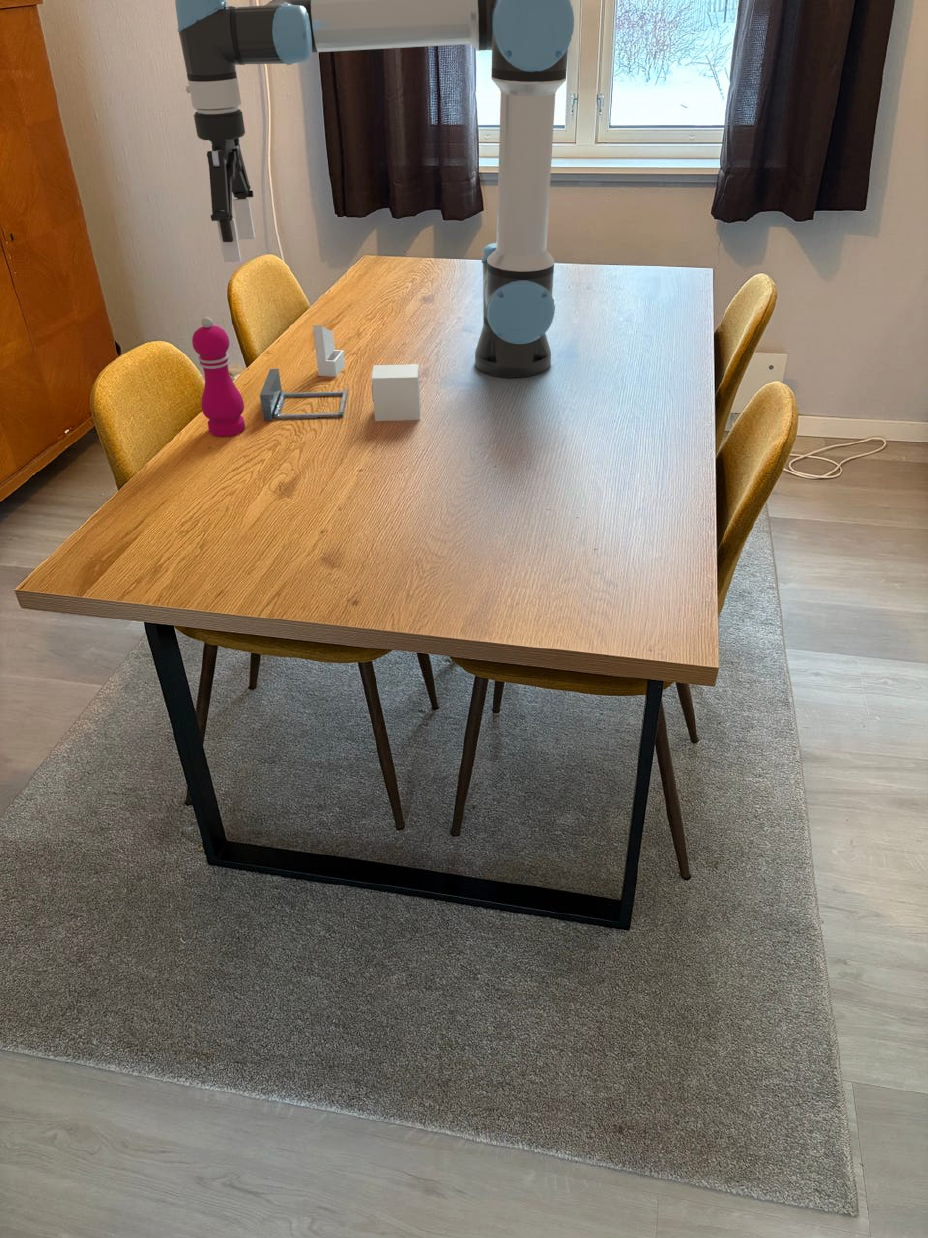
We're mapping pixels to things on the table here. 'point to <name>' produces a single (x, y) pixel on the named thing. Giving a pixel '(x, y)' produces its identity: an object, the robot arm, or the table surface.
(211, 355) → the pepper mill
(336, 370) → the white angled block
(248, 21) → the robot arm
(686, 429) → the table surface
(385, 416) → the block
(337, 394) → the rail plate
